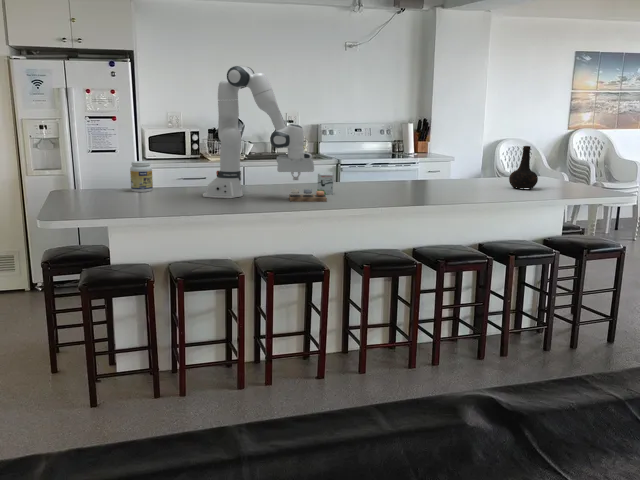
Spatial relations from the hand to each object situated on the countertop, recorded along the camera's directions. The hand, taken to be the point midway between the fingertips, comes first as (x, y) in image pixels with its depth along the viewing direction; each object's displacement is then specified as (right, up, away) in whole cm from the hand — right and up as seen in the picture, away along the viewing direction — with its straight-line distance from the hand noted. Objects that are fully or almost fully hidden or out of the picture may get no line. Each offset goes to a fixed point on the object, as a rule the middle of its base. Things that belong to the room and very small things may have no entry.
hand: (295, 180), depth 330 cm
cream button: (0, -7, +2) cm, 7 cm away
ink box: (+16, -6, +26) cm, 31 cm away
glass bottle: (+146, 0, +64) cm, 160 cm away
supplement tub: (-91, -4, +21) cm, 93 cm away
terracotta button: (+13, -8, +3) cm, 16 cm away
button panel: (+6, -11, +3) cm, 13 cm away
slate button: (+7, -7, +2) cm, 10 cm away
